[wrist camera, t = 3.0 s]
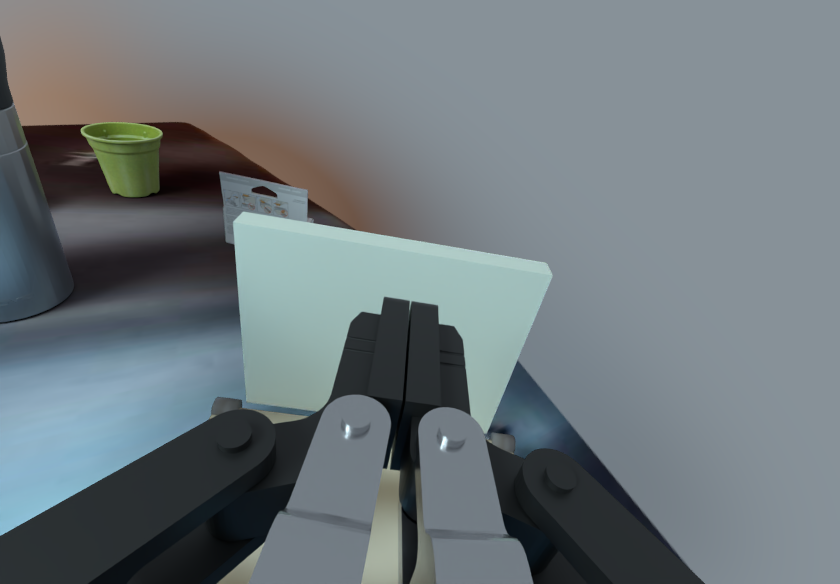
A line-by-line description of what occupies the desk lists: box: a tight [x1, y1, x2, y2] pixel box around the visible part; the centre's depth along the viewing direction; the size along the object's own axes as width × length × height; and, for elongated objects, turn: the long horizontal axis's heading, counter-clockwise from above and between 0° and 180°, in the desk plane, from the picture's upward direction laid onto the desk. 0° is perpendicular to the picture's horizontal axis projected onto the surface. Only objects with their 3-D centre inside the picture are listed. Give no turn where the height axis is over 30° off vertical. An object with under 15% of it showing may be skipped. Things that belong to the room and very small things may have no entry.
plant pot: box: [81, 122, 163, 197], centre depth 59 cm, size 9×9×9 cm
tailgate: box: [233, 212, 553, 434], centre depth 28 cm, size 2×18×14 cm, turn 89°
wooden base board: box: [209, 397, 515, 584], centre depth 27 cm, size 12×22×4 cm, turn 89°
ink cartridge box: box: [219, 172, 314, 244], centre depth 52 cm, size 2×11×10 cm, turn 83°
